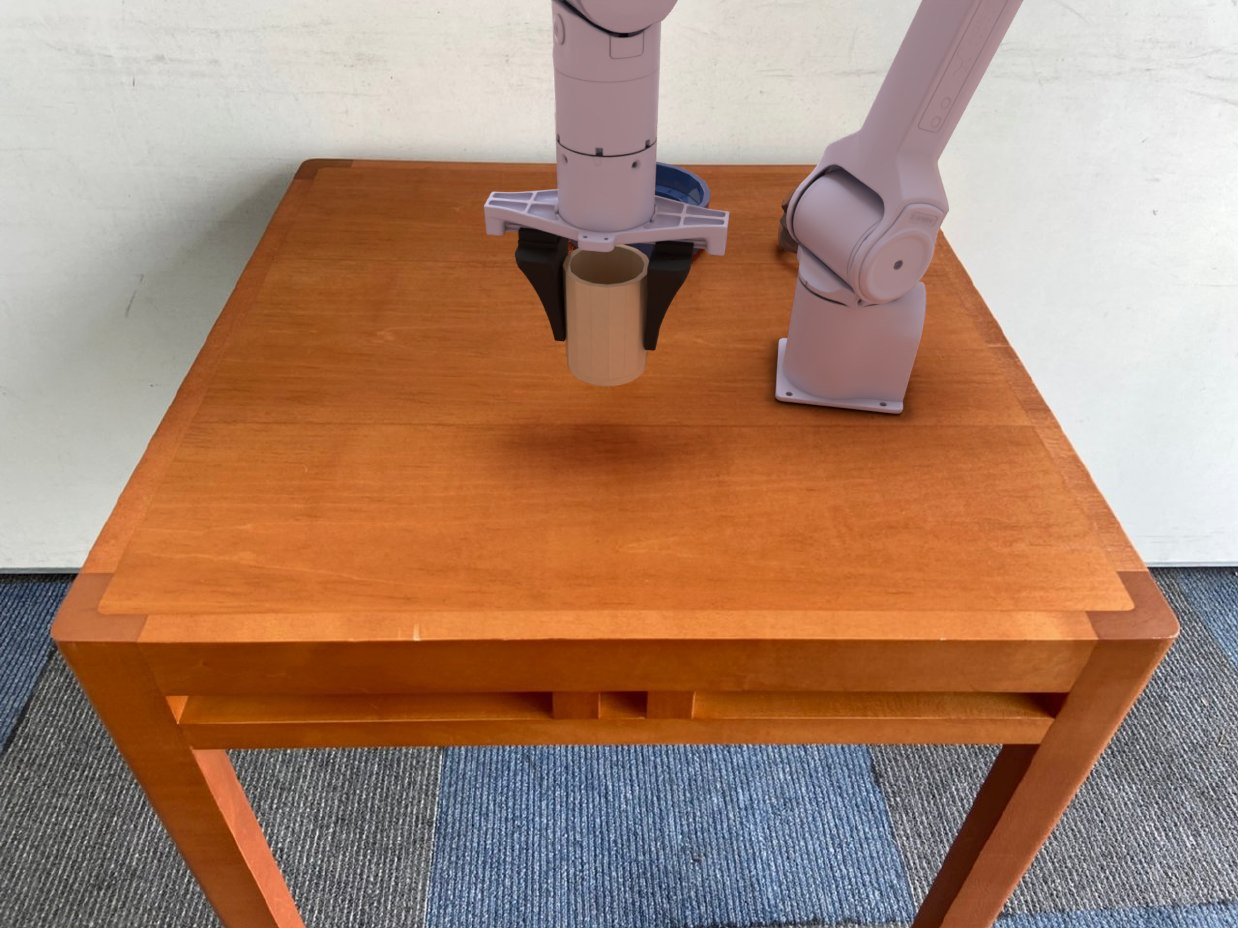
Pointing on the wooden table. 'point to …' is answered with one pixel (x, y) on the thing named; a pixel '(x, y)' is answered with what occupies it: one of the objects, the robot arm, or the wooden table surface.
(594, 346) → the cup
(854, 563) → the wooden table surface
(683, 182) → the bowl
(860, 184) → the robot arm
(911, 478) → the wooden table surface
